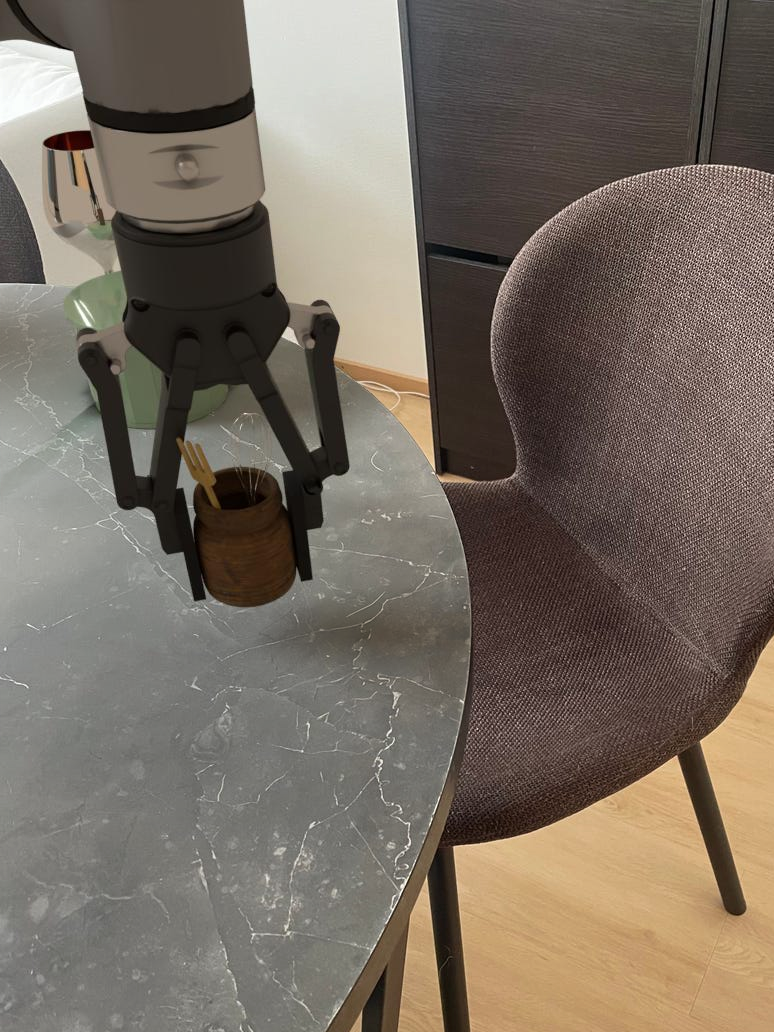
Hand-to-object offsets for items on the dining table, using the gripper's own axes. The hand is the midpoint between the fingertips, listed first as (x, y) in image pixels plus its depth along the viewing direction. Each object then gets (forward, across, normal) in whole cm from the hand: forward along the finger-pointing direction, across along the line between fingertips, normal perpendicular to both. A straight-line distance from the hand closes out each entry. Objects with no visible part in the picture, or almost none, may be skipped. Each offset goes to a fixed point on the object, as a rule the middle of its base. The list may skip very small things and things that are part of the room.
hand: (250, 576), depth 66 cm
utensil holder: (+1, 0, 0) cm, 1 cm away
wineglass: (+5, -5, +45) cm, 46 cm away
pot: (+5, -3, +34) cm, 34 cm away
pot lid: (-4, -3, +34) cm, 34 cm away
